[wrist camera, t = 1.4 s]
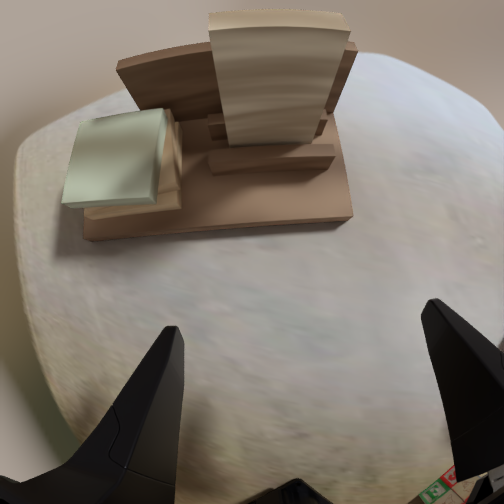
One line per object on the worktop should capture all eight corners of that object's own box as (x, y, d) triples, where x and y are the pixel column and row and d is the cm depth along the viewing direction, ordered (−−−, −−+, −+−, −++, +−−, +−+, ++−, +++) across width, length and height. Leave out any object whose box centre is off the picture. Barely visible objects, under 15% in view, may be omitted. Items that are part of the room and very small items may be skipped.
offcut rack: (347, 220, 23) (399, 178, 13) (91, 241, 23) (20, 216, 13) (327, 113, 24) (353, 42, 15) (101, 138, 24) (51, 85, 15)
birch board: (307, 154, 22) (350, 31, 9) (231, 159, 22) (208, 30, 9) (304, 139, 22) (341, 13, 9) (230, 142, 22) (209, 13, 9)
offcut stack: (185, 213, 21) (168, 194, 17) (90, 225, 21) (60, 211, 17) (186, 126, 22) (173, 95, 18) (99, 143, 22) (75, 119, 18)
